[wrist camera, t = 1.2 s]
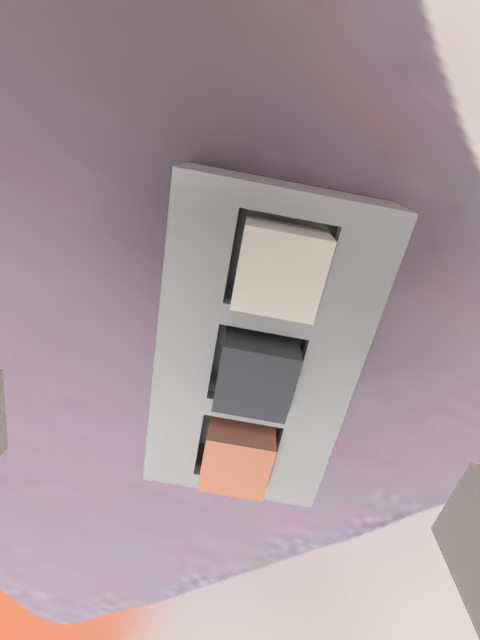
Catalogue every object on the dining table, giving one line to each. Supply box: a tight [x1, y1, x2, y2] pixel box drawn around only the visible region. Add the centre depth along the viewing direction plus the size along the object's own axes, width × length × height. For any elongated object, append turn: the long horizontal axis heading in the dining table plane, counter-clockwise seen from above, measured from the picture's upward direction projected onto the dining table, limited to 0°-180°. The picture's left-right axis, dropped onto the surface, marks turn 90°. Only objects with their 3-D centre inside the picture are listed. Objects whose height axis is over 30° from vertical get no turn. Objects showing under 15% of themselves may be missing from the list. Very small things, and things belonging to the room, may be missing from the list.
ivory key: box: [230, 215, 337, 325], centre depth 23 cm, size 5×5×3 cm
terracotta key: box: [197, 416, 277, 502], centre depth 29 cm, size 5×5×3 cm
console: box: [143, 162, 419, 507], centre depth 29 cm, size 24×14×5 cm, turn 170°
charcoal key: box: [211, 326, 303, 424], centre depth 26 cm, size 5×5×3 cm
